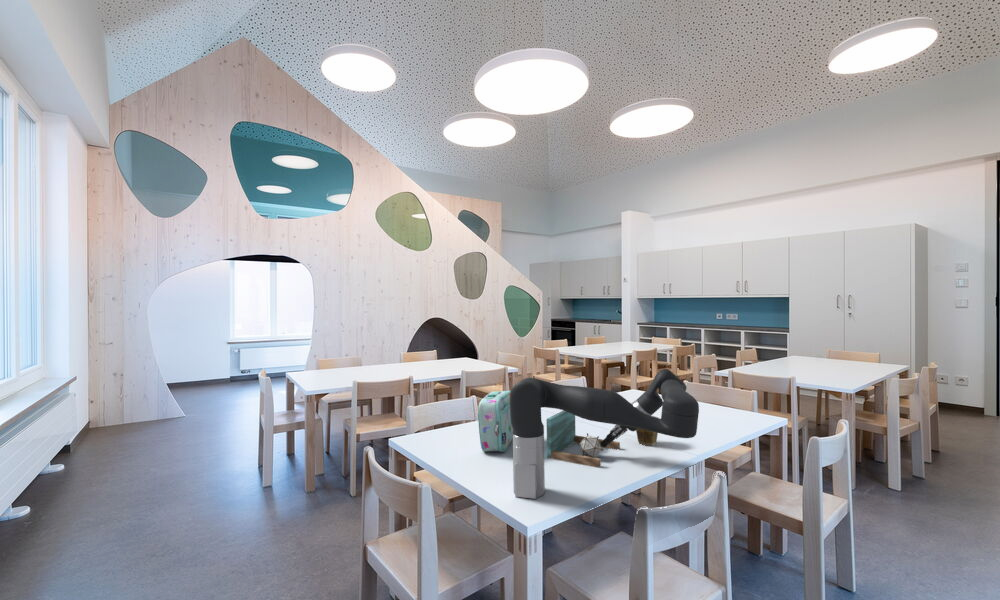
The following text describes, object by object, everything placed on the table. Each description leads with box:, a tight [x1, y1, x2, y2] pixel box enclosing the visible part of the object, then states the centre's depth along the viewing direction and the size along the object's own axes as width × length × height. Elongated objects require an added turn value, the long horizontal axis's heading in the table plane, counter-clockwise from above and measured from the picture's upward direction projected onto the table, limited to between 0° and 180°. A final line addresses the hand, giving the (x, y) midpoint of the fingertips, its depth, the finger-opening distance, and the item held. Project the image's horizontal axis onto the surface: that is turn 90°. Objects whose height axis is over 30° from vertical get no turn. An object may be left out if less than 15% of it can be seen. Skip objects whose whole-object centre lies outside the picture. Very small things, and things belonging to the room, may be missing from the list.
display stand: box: [546, 410, 621, 468], centre depth 168 cm, size 20×23×14 cm
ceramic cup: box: [635, 415, 659, 447], centre depth 179 cm, size 13×10×10 cm
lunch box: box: [477, 390, 513, 453], centre depth 178 cm, size 27×10×21 cm, turn 168°
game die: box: [576, 433, 605, 458], centre depth 163 cm, size 9×8×10 cm
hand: (602, 444), depth 164 cm, fingers closed
